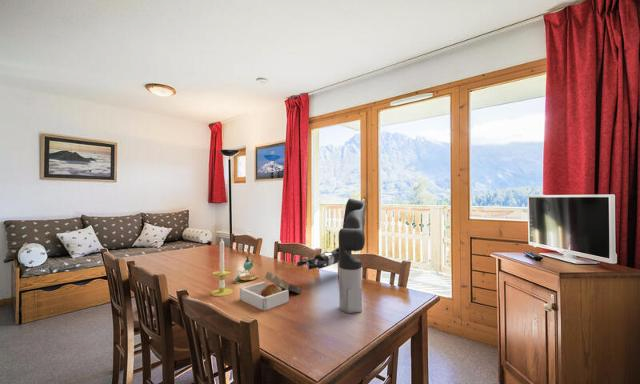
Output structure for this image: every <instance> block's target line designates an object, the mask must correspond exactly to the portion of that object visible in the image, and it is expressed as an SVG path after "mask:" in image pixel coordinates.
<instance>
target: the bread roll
mask: <svg viewBox="0 0 640 384" xmlns="http://www.w3.org/2000/svg"><path fill="white" fill-rule="evenodd" d="M282 291H283V289H282V288H281V287H279V286H278V285H276V284H274V283H273V284H267V285H265V288H264V289H263V290H262V291H261V294H260V295H261V296H263V297H267V296H270V295H273V294H276V293H279V292H282Z"/></svg>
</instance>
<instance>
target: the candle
mask: <svg viewBox="0 0 640 384" xmlns="http://www.w3.org/2000/svg"><path fill="white" fill-rule="evenodd" d="M231 273H232V271H231V270H229V269H225V241H224V239H223V238H222V237H221V239H220V241H219V270H216V271H213V272H212V275H213V276H216V277H217V276H218V289H214V290H212V292H210V296H213V297H225V296H229V295H231V294H232V293H233V289H231V288H225V286H226V283H225V279H226V278H225V277H226V276H227V275H230V274H231Z"/></svg>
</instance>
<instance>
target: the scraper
mask: <svg viewBox="0 0 640 384" xmlns="http://www.w3.org/2000/svg"><path fill="white" fill-rule="evenodd" d="M264 279H265V280H267V281H269V282H270V283H273V284H274V285H277V286H279V287H280V288H281V289H282V290H284V291H285V290H289V292H292V293H295V294H298V295H300V294H301V292H302V291H303V289H302V288H300V287H299V286H296V285H293V284H291V283H290V282H288V281H286V280H284V279H282V278H281V277H279V276H277V275H276V274H274V273H273V272H269V271H267V272H266V274H265V276H264Z"/></svg>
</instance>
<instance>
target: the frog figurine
mask: <svg viewBox="0 0 640 384" xmlns="http://www.w3.org/2000/svg"><path fill="white" fill-rule="evenodd" d="M245 256H246V260H245V261H244V263H243V268H244V270H243V271H241V270H239V272H240V273H238V274H237V276H236V277H235V278H234V282H233V284H234V285H235V284H240V283H243V281H251V280H255V279H257V278H260V277H261V275H256V274H254V271H252V268H253V266H254V264H253V263H254V260H253V259H252V260H249V255H248V254H246V255H245ZM247 271H248V272H249V274H247V273H248V272H247ZM244 273H245V275H242V276H241V274H244ZM239 280H240V281H239Z"/></svg>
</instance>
